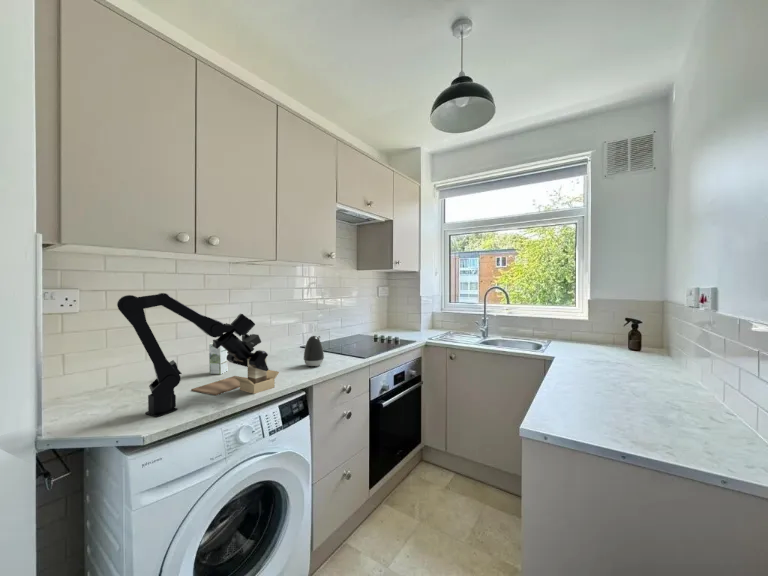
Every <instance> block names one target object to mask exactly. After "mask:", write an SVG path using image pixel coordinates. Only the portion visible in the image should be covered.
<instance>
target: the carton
mask: <svg viewBox="0 0 768 576" xmlns="http://www.w3.org/2000/svg"><path fill="white" fill-rule="evenodd" d="M279 373H280V371H277V370H272V369H268V371H267V380H266V381H263V382H260V383H256V384H254V383H253V382H251V381H250V380H248V379H244V378H240V377H241V376H239V377H236V376H237V375H234V376H235V377H234V378H235V379H237V380H238V381H239V382H240V387H239V390H240V391H241V392H242V391H243V392H246V393H250V394H253V395H255V394H258V393H259V394H260V393H261V392H265V391H268V390H272V389H274V388H275V386H276V385H275V383H276V382H275V380H276V378H277V376H279Z"/></svg>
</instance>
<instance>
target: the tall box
mask: <svg viewBox="0 0 768 576" xmlns="http://www.w3.org/2000/svg"><path fill="white" fill-rule="evenodd" d="M255 352H256V351H253V353H255ZM249 360H250V359H247V361H248V367H247V378H248V380H250V381H251V382H253V383H254V384H256V383H260V382H263V381H266V380H267V371H264V370H260V369H257V368H253V367H252V366H251V365H249ZM265 362H266V364H267V362H268V361H267V358H266V359H265ZM267 365H268V364H267Z"/></svg>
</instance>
